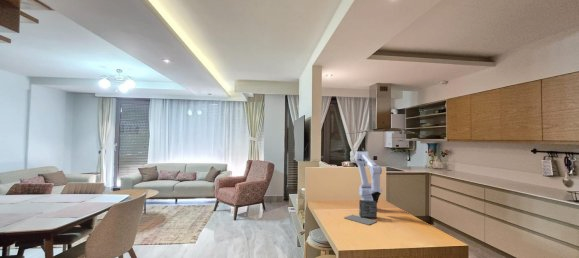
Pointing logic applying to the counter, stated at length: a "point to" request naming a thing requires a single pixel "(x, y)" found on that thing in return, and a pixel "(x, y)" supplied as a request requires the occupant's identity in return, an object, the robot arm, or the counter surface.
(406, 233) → the counter surface
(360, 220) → the mat
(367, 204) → the small box
